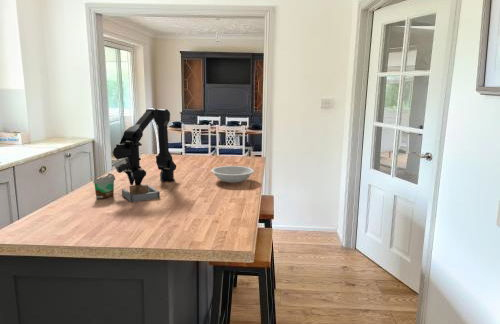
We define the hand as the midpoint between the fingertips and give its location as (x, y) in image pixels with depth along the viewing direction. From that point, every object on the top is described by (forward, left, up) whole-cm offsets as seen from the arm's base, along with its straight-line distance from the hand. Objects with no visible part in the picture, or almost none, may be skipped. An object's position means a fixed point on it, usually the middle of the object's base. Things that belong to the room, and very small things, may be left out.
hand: (134, 187), depth 180 cm
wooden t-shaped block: (0, +10, -3) cm, 10 cm away
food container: (+13, +2, -3) cm, 13 cm away
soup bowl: (-53, +7, -3) cm, 54 cm away
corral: (0, +9, -3) cm, 9 cm away
